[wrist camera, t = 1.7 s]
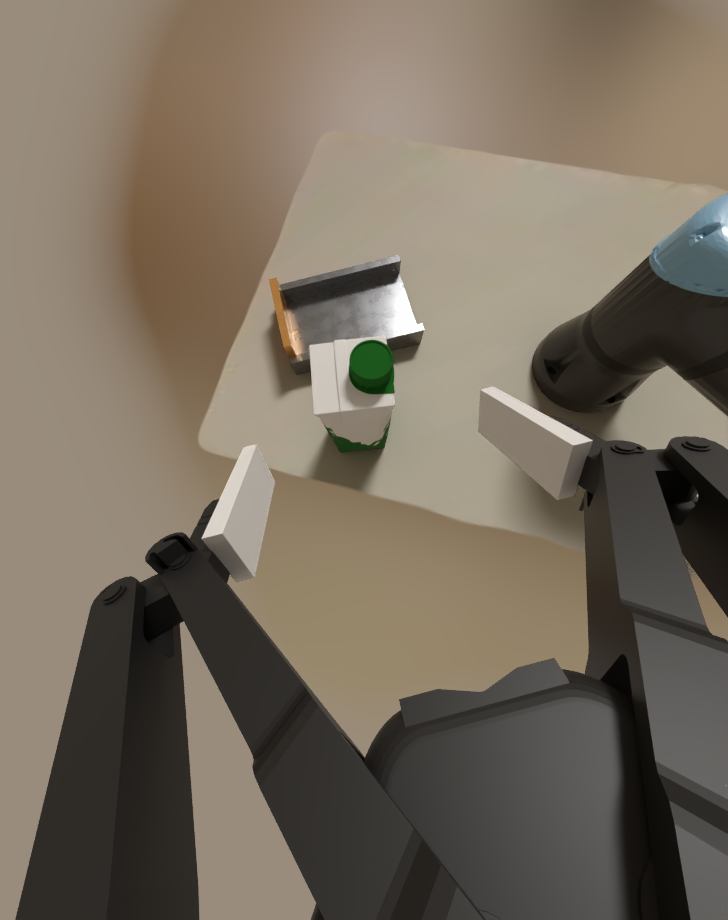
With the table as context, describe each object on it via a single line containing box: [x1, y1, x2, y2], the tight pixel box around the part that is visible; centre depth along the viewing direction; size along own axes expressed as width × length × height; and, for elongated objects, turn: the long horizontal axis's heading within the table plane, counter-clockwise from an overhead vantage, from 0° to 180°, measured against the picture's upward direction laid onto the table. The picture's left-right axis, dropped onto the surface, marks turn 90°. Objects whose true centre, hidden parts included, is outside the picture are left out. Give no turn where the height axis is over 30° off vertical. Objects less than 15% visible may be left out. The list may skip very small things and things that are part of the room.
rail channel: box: [269, 255, 424, 375], centre depth 45 cm, size 22×15×6 cm
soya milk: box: [309, 336, 395, 452], centre depth 34 cm, size 9×9×20 cm
